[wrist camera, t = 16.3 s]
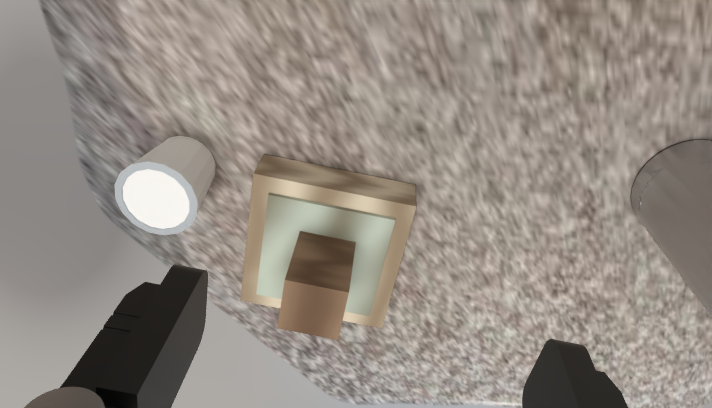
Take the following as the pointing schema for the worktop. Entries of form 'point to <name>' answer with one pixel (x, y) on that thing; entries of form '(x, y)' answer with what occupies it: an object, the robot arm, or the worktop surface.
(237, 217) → the worktop surface
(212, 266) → the worktop surface
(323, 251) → the walnut block
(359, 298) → the plinth
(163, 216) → the white cup
